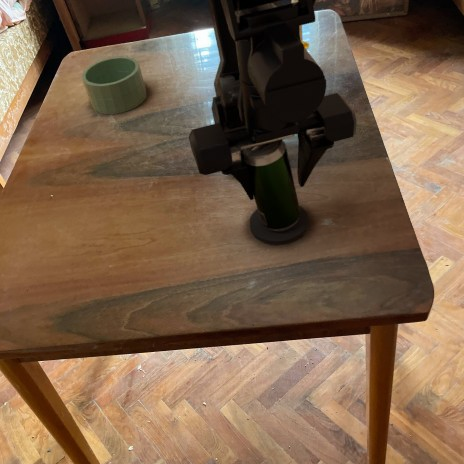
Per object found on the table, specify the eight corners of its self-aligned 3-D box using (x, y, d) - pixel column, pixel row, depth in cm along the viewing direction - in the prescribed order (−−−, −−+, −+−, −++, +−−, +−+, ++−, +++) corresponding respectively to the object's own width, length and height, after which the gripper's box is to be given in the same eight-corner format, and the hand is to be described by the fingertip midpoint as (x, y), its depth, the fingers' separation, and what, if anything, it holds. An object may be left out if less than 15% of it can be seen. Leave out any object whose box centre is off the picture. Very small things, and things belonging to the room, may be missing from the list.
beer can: (277, 239, 68) (256, 165, 59) (254, 220, 71) (231, 147, 62) (309, 217, 69) (293, 140, 60) (285, 199, 72) (266, 124, 63)
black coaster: (297, 199, 74) (297, 195, 73) (316, 236, 69) (316, 231, 68) (243, 213, 73) (243, 209, 73) (258, 251, 68) (258, 247, 68)
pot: (143, 79, 102) (135, 51, 98) (150, 105, 95) (142, 76, 91) (90, 92, 102) (80, 64, 97) (94, 119, 95) (83, 91, 91)
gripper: (324, 22, 60) (323, 140, 72) (168, 60, 59) (194, 173, 71) (362, 64, 53) (354, 187, 65) (186, 109, 52) (211, 225, 64)
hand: (276, 191), depth 67 cm, fingers closed on beer can, 6 cm apart
